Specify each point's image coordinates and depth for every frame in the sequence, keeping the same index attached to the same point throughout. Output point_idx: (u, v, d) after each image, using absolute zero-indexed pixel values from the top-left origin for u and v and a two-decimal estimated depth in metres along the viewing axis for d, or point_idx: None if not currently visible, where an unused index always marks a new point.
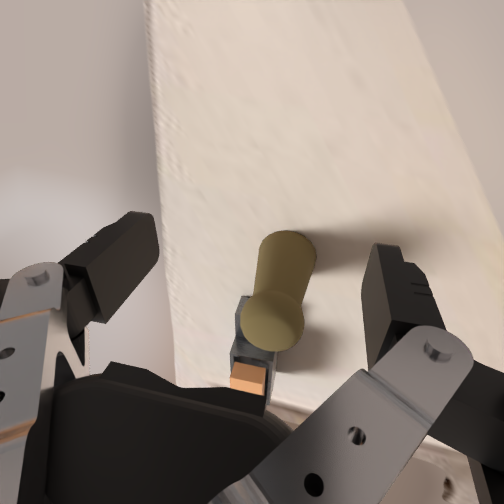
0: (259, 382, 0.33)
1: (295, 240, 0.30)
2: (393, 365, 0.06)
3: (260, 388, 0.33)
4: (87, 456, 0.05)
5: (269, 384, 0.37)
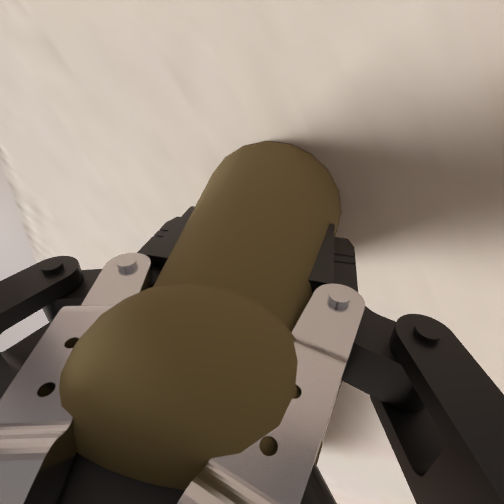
0: None
1: (289, 158, 0.11)
2: None
3: None
4: None
5: None
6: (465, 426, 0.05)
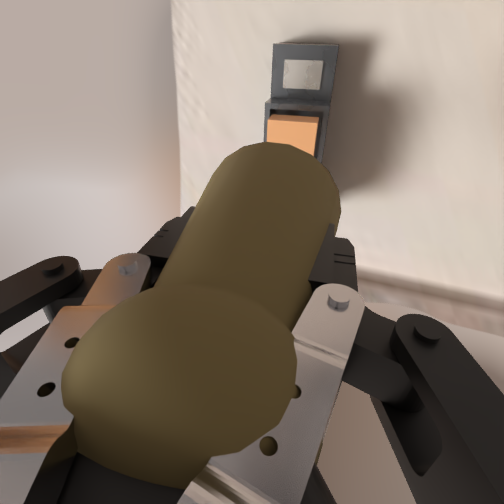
0: (313, 122, 0.22)
1: (289, 159, 0.11)
2: None
3: (313, 135, 0.22)
4: None
5: None
6: (465, 426, 0.05)
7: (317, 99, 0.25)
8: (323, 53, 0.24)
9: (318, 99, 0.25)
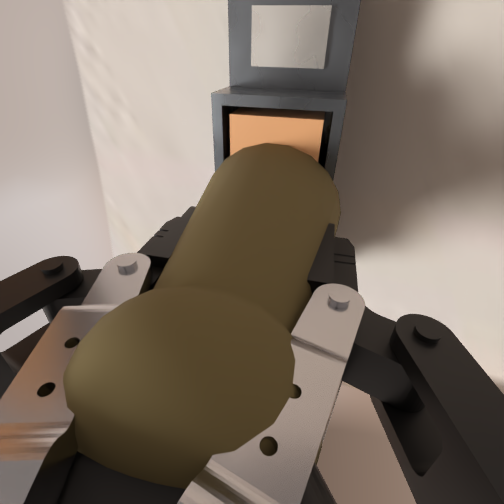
0: (315, 119, 0.11)
1: (289, 160, 0.11)
2: None
3: (316, 142, 0.12)
4: None
5: None
6: (465, 426, 0.05)
7: (320, 88, 0.13)
8: None
9: (321, 88, 0.13)
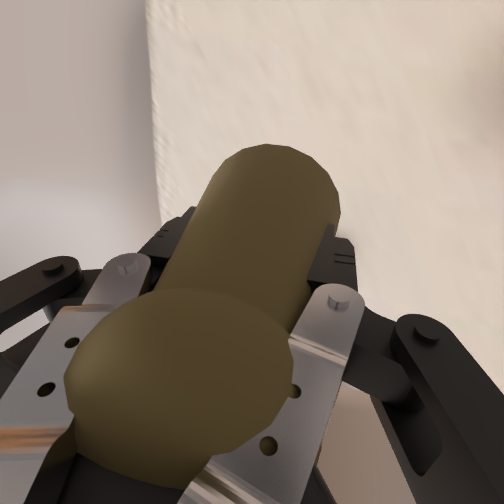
0: None
1: (289, 162, 0.11)
2: None
3: None
4: None
5: None
6: (465, 426, 0.05)
7: None
8: None
9: None
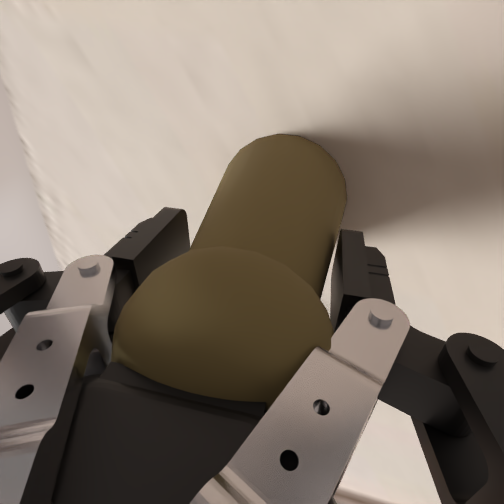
0: None
1: (300, 149, 0.12)
2: (336, 330, 0.07)
3: None
4: (87, 456, 0.05)
5: None
6: None
7: None
8: None
9: None
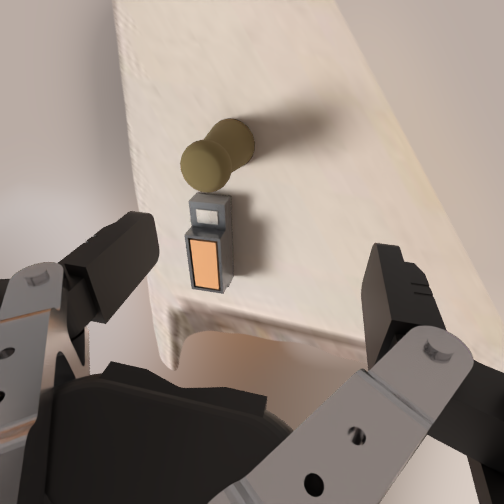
0: (213, 242, 0.41)
1: (233, 123, 0.36)
2: (393, 365, 0.06)
3: (214, 248, 0.41)
4: (87, 456, 0.05)
5: (220, 267, 0.43)
6: None
7: (218, 228, 0.43)
8: (216, 207, 0.41)
9: (218, 228, 0.43)
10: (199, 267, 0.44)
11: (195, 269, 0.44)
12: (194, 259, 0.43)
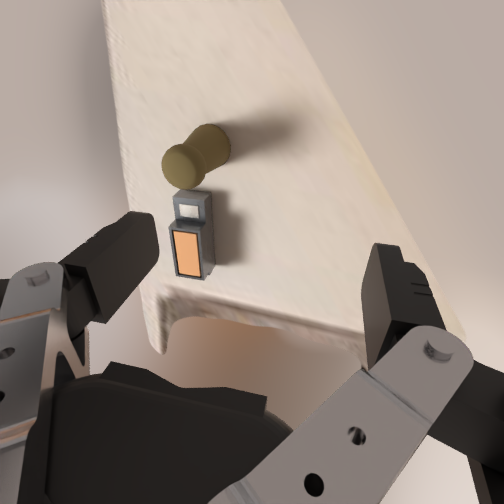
0: (194, 233, 0.46)
1: (211, 128, 0.41)
2: (393, 365, 0.06)
3: (195, 239, 0.46)
4: (87, 456, 0.05)
5: (200, 256, 0.48)
6: None
7: (199, 221, 0.48)
8: (197, 203, 0.46)
9: (199, 222, 0.48)
10: (182, 256, 0.49)
11: (178, 257, 0.49)
12: (177, 249, 0.48)
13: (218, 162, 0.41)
